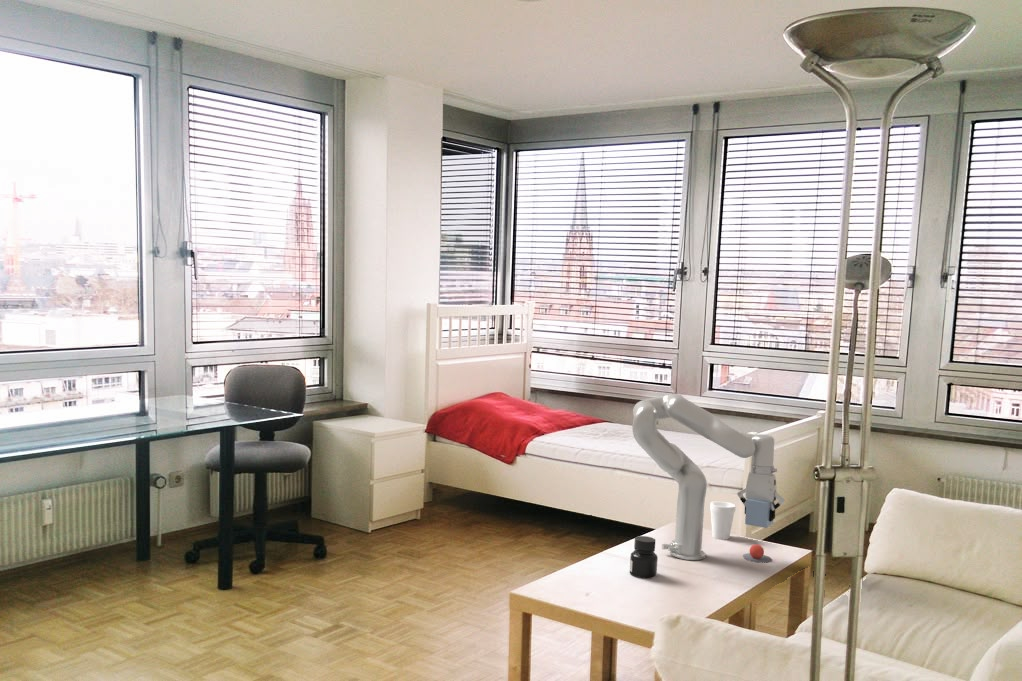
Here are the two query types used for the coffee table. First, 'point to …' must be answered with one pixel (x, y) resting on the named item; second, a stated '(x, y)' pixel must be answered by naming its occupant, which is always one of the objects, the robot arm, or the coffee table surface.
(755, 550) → the ball
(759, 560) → the disc
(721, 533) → the foam cup
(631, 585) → the coffee table surface
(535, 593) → the coffee table surface
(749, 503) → the blue box
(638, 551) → the ink bottle
